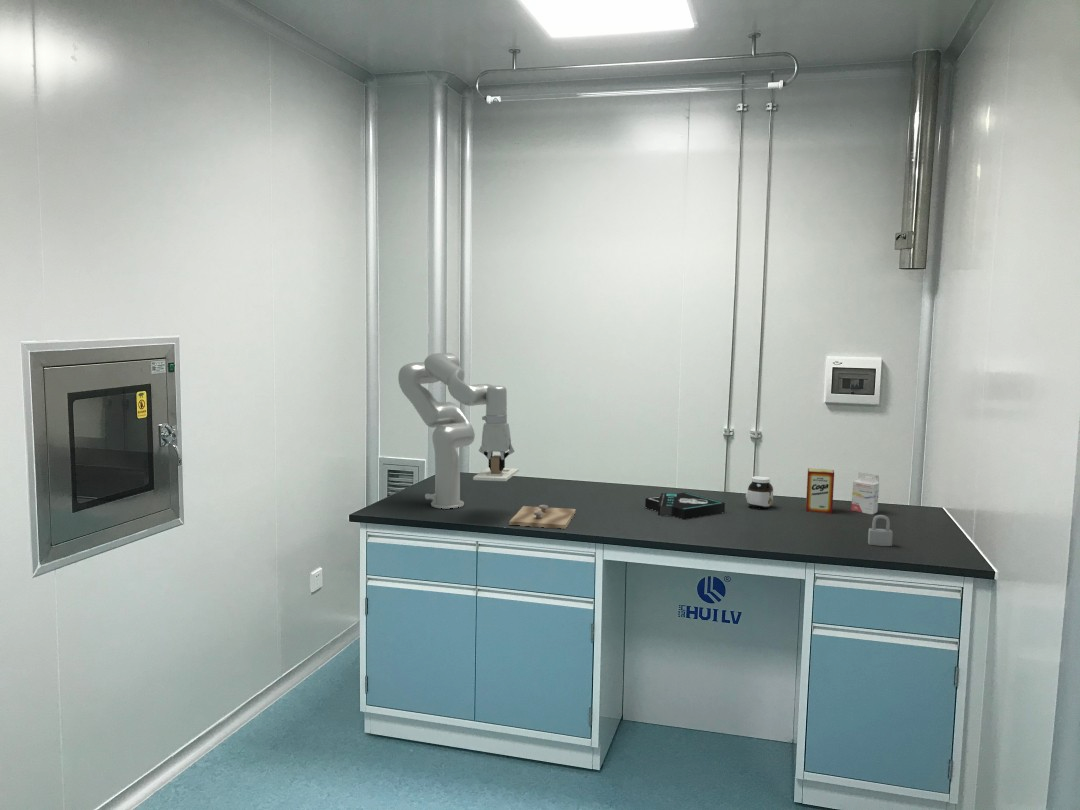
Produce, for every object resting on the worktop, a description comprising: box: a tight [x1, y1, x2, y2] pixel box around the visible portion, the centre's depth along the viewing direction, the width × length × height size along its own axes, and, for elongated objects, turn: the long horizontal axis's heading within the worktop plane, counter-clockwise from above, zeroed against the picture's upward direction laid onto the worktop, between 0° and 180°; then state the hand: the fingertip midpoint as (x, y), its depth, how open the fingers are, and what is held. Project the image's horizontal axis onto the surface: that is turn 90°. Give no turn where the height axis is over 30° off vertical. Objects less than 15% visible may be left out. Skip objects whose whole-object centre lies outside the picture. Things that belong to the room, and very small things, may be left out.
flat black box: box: [644, 492, 726, 520], centre depth 318 cm, size 30×4×30 cm
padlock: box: [867, 514, 894, 547], centre depth 272 cm, size 7×4×10 cm, turn 75°
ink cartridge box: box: [850, 471, 880, 515], centre depth 318 cm, size 9×5×15 cm, turn 47°
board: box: [508, 504, 577, 530], centre depth 301 cm, size 20×24×4 cm
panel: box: [472, 454, 520, 482], centre depth 302 cm, size 12×20×7 cm, turn 168°
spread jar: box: [745, 475, 774, 510], centre depth 326 cm, size 12×11×12 cm
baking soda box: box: [805, 467, 835, 514], centre depth 319 cm, size 10×6×16 cm
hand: (496, 469), depth 302 cm, fingers closed on panel, 3 cm apart
